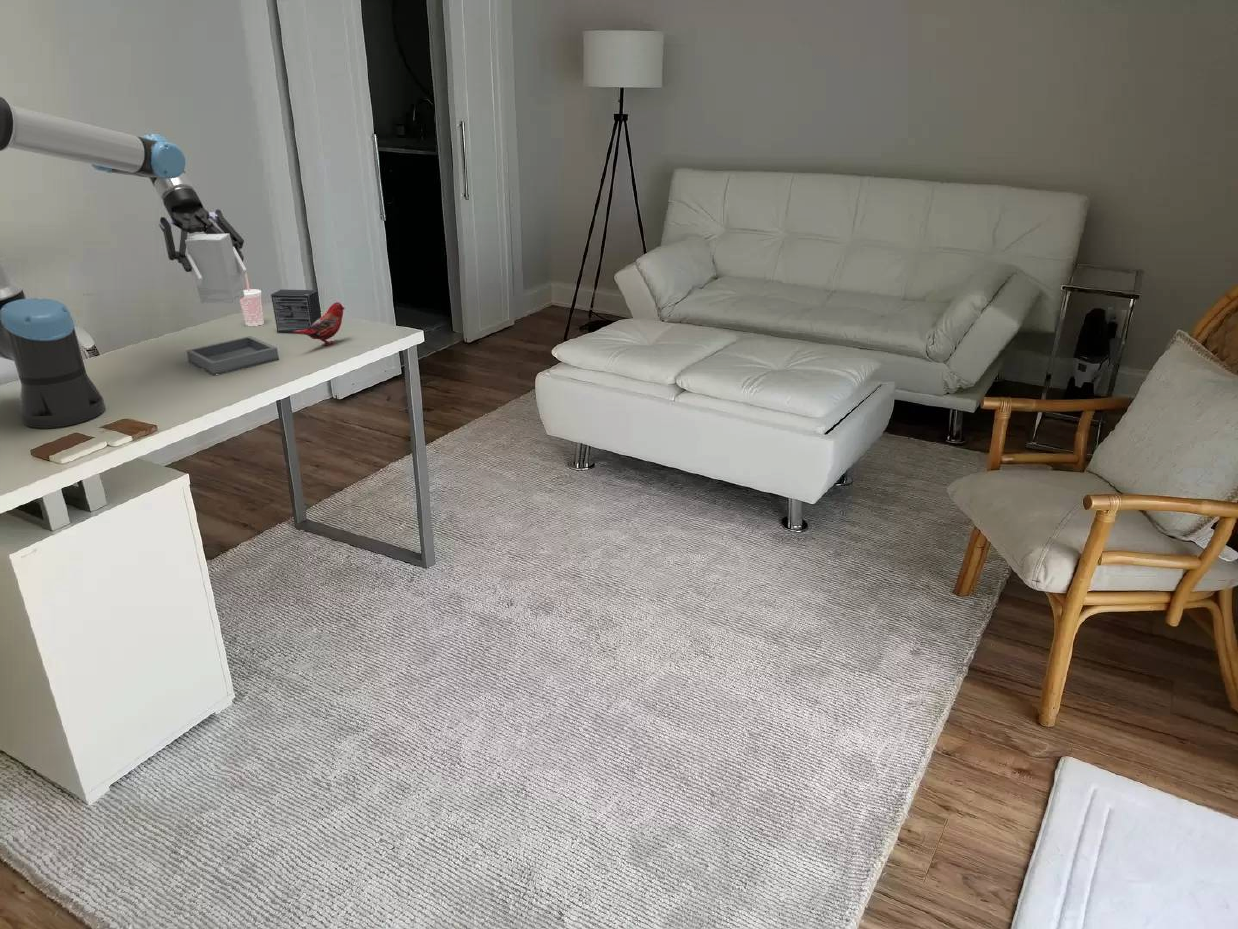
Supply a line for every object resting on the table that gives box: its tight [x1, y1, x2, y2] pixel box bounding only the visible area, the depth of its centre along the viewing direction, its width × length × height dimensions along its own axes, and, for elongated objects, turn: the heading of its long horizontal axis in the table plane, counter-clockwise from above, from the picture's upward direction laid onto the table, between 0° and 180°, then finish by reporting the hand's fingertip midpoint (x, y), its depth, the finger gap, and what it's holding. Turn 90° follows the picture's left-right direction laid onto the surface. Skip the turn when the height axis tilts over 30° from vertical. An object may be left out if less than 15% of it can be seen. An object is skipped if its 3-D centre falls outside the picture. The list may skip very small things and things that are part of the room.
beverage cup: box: [239, 272, 265, 327], centre depth 242 cm, size 6×6×14 cm
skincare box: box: [185, 233, 244, 304], centre depth 204 cm, size 8×6×15 cm
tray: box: [186, 335, 280, 376], centre depth 217 cm, size 16×14×3 cm
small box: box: [270, 289, 322, 334], centre depth 238 cm, size 11×6×10 cm, turn 84°
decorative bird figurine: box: [291, 301, 345, 347], centre depth 225 cm, size 3×18×10 cm, turn 149°
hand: (222, 277), depth 203 cm, fingers closed on skincare box, 9 cm apart
